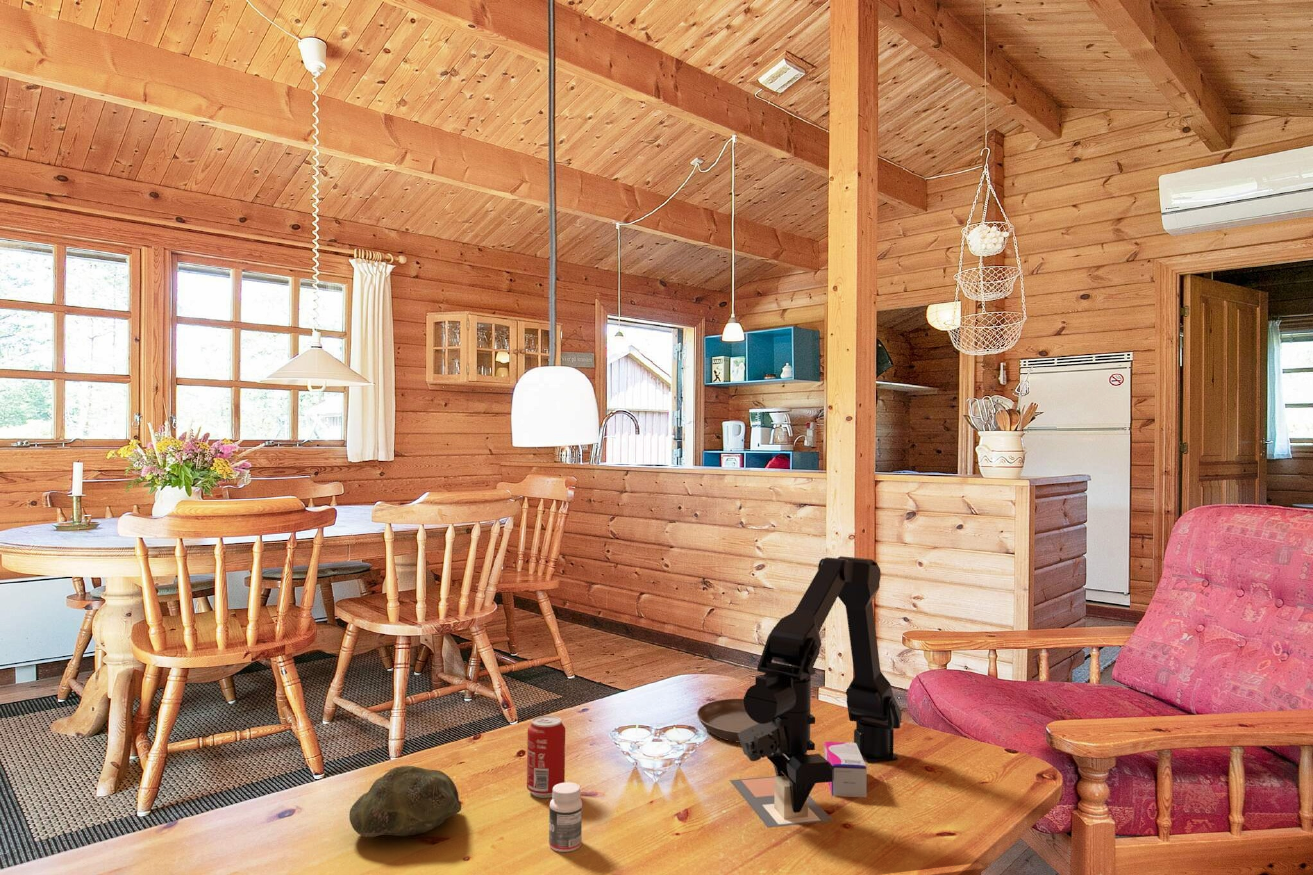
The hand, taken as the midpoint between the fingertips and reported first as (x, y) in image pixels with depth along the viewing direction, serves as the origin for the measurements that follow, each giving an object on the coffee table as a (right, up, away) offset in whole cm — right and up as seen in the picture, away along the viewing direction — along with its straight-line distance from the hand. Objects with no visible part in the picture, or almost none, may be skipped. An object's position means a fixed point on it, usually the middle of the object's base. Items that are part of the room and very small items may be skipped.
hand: (791, 805), depth 129 cm
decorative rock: (-59, -1, -6) cm, 59 cm away
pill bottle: (-35, -1, -10) cm, 36 cm away
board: (-1, -2, +5) cm, 5 cm away
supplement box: (+11, +1, +6) cm, 12 cm away
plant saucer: (-3, -3, +41) cm, 41 cm away
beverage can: (-40, -1, +8) cm, 41 cm away
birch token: (0, -1, 0) cm, 1 cm away
